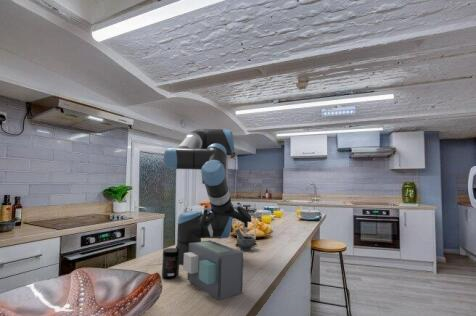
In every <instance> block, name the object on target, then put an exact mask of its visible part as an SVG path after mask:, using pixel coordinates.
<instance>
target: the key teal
mask: <svg viewBox="0 0 476 316" xmlns="http://www.w3.org/2000/svg"><path fill="white" fill-rule="evenodd" d="M216 267H217V263H215V262H213V261H210V260H202V261H199V279H200V280H201V281H203V282H205V283H206V284H212V283H216Z"/></svg>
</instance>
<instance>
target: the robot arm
mask: <svg viewBox="0 0 476 316" xmlns="http://www.w3.org/2000/svg"><path fill="white" fill-rule="evenodd" d="M234 141H235V140H234V135H233V131H232V130H230V129H223V128H218V129H216V128H198V129H194V130H191V131H189V132H187V133H186V134H185V135H184V136H183V137H182V141H181V142H180V143H179V145H178V146H177V147H169V148H166V149H165V150H164V154H163V164H164V167H165V168H166V169H171V170H199V171H201V177H202V178H201V179H202V180H203V183H204V186H205V187H204V188H205V189H206V192H207V194H206V195H207V197H208V200H209V207H208V206H207V205H204V208H203V211H202V210H192V211H185V212H181V213H180V214H179V215H178V218H177V220H178V221H177V223H176V224H177V234H176V235H177V236H176V239H177V240H176V246H175V248H177V249H180V257H179V265H183V262H184V253H188V252H189V243H194V242H202V239H219V240H221V239H228V238H229V237H230V236H231V230H232V226H233V218H234V219H236V220H237V221H239V222H241V226H242V231H243V234H244V235H246V234H247V230H246V228H248V227H249V226H248V222H249V223H251V222H252V215H251V214H250V213H249V212H248V211H247V210H245V209H244V207H243V206H242V204H241V203H240V202H237V203H236V204H235V205H234V204H232V199H231V194H230V190H229V186H228V185H229V183H228V182H229V181H228V178H229V159H231V157H232V154H235V144H234Z"/></svg>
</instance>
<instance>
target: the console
mask: <svg viewBox="0 0 476 316" xmlns="http://www.w3.org/2000/svg"><path fill="white" fill-rule="evenodd" d="M189 252H193V253H196V254H198V255H199V261H202V260H210V261H213V262H215V263H217V267H216V283H212V284H206V283H205V282H203V281H201V280H200V279H199V267H198V272H197V273H193V274H190V273H188V272H187V278H186V279H187V281H188V280H189V281H188V282H190V283H191V282H192V283H191V284H193V285H194V284H195V285H194V286H195V287H198V288H199V289H201V290H202V291H204V292H205V293H206V294H208V295H209V296H211V297H213V298H214V299H215V300H217V301H221V300H224V299H228V298H231V297H233V296H237V295H241V294H243V284H244V283H243V281H244V280H243V277H244V275H243V274H244V273H243V272H244V251H241V250H240V249H237V248H236V249H235V248H233V247H229V246H228V245H226V244H225V245H224V244H222V243H219V242H216V241H213V240H212V239H211V240H210V239H209V240H204V241H203V240H201V242H194V243H189ZM189 252H188V253H189Z"/></svg>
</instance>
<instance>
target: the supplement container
mask: <svg viewBox="0 0 476 316" xmlns="http://www.w3.org/2000/svg"><path fill="white" fill-rule="evenodd" d="M179 257H180V249H177V248H176V247H169V248H164V249H162V263H161V264H162V267H161V276H162V278H163V279H164V280H165V279H166V280H174V279H176V278H178V277H179V274H180V264H179Z"/></svg>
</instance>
